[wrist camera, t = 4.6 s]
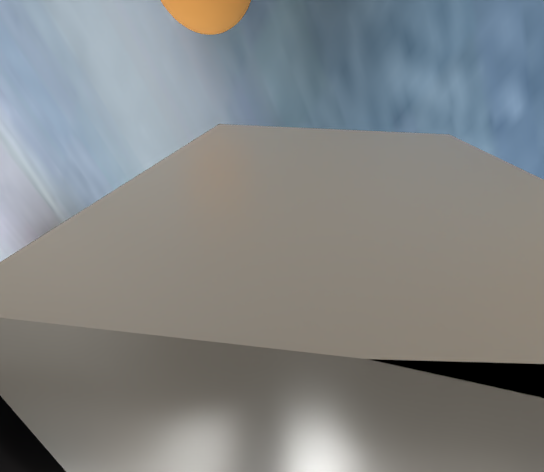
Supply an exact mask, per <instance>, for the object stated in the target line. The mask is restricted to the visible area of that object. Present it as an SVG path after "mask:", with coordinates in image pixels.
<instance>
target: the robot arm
mask: <svg viewBox="0 0 544 472" xmlns="http://www.w3.org/2000/svg"><path fill="white" fill-rule="evenodd" d="M0 472H66V471H65V470H64V469H63V468H62V466H61V465H60V464H59V463H58V462H57V461H56V459H55V458H54V457H53V456H52V455H51V454H50V452H49V451H48V450H47V449H46V448H45V447H44V446H43V444H42V443H41V442H40V441H39V440H38V439H37V437H36V436H35V435H34V434H33V433H32V432H31V430H30V429H29V428H28V427H27V426H26V425H25V424H24V422H23V421H22V420H21V419H20V418H19V417H18V415H17V414H16V413H15V412H14V411H13V410H12V408H11V407H10V406H9V405H8V404H7V403H6V402H5V400H4V399H3V398H2V397H1V396H0Z"/></svg>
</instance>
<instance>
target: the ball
mask: <svg viewBox="0 0 544 472" xmlns="http://www.w3.org/2000/svg"><path fill="white" fill-rule="evenodd" d="M161 2H162V3H163V5H164V6H165V8H166V9H167V10H168V12H169V13H170V14H171V15H172V16H173V17H174V18H175V19H176V20H177V21H178V22H179V23H180V24H182V25H183V26H185V27H186V28H188V29H190V30H192V31H194V32H197V33H200V34H207V35H213V34H220V33H223V32H225V31H227V30H229V29H231V28H232V27H233V26H235V25H236V24H237V23H238V22H239V21H240V20H241V19H242V17H243V16H244V14H245V13H246V11H247V9H248V7H249V4H250V2H251V0H161Z"/></svg>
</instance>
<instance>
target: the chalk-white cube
mask: <svg viewBox="0 0 544 472" xmlns="http://www.w3.org/2000/svg"><path fill="white" fill-rule="evenodd" d="M0 396H1V397H2V398H3V399H4V400H5V402H6V403H7V404H8V405H9V406H10V407H11V408H12V410H13V411H14V412H15V413H16V414H17V415H18V417H19V418H20V419H21V420H22V421H23V422H24V424H25V425H26V426H27V427H28V428H29V429H30V430H31V432H32V433H33V434H34V435H35V436H36V437H37V439H38V440H39V441H40V442H41V443H42V444H43V446H44V447H45V448H46V449H47V450H48V451H49V452H50V454H51V455H52V456H53V457H54V458H55V459H56V461H57V462H58V463H59V464H60V465H61V466H62V468H63V469H64V470H65V471H66V472H544V180H543V179H541V178H539V177H537V176H535V175H532V174H530V173H528V172H526V171H524V170H522V169H520V168H518V167H516V166H514V165H512V164H510V163H507V162H505V161H503V160H501V159H499V158H497V157H495V156H493V155H491V154H489V153H487V152H485V151H483V150H480V149H478V148H476V147H474V146H472V145H470V144H468V143H466V142H464V141H462V140H460V139H458V138H456V137H453V136H451V135H449V134H427V133H405V132H383V131H361V130H339V129H317V128H295V127H273V126H251V125H228V124H218V125H217V126H215V127H214V128H212V129H210V130H209V131H207V132H206V133H204V134H202V135H201V136H199V137H198V138H196V139H195V140H193V141H191V142H190V143H188V144H187V145H185V146H183V147H182V148H180V149H179V150H177V151H176V152H174V153H172V154H171V155H169V156H168V157H166V158H164V159H163V160H161V161H160V162H158V163H157V164H155V165H153V166H152V167H150V168H149V169H147V170H145V171H144V172H142V173H141V174H139V175H138V176H136V177H134V178H133V179H131V180H130V181H128V182H126V183H125V184H123V185H122V186H120V187H119V188H117V189H115V190H114V191H112V192H111V193H109V194H107V195H106V196H104V197H103V198H101V199H100V200H98V201H96V202H95V203H93V204H92V205H90V206H88V207H87V208H85V209H84V210H82V211H81V212H79V213H77V214H76V215H74V216H73V217H71V218H69V219H68V220H66V221H65V222H63V223H62V224H60V225H58V226H57V227H55V228H54V229H52V230H50V231H49V232H47V233H46V234H44V235H43V236H41V237H39V238H38V239H36V240H35V241H33V242H31V243H30V244H28V245H27V246H25V247H24V248H22V249H20V250H19V251H17V252H16V253H14V254H12V255H11V256H9V257H8V258H6V259H5V260H3V261H1V262H0Z"/></svg>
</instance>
